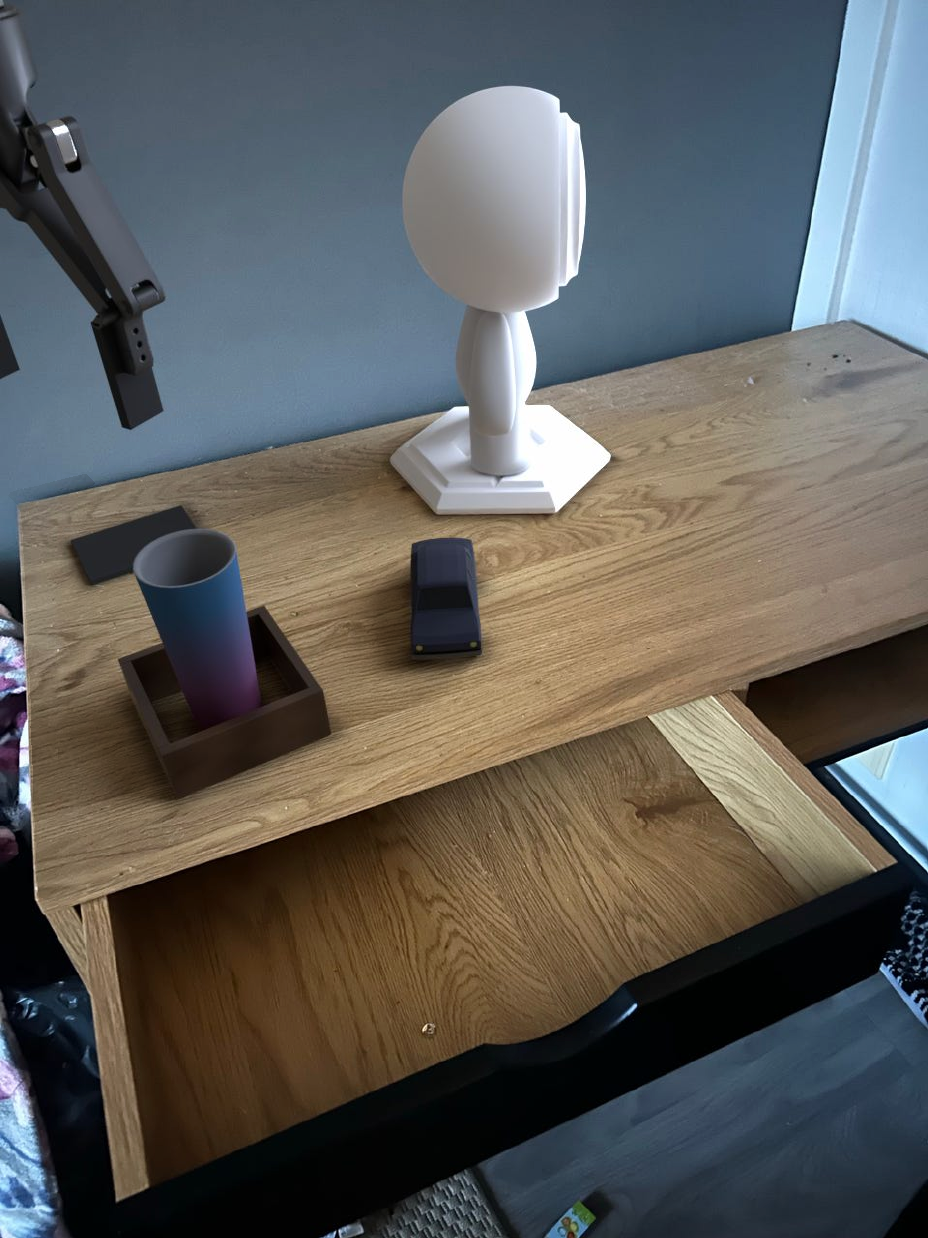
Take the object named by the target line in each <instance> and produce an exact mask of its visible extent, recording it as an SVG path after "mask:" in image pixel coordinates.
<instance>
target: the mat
mask: <svg viewBox="0 0 928 1238" xmlns="http://www.w3.org/2000/svg"><path fill="white" fill-rule="evenodd" d="M188 529H198V528H197V526H196V525H195V523H194V522H193V521H192V519H191V517H190V516H189V514H188V513H187V512H186V510H185V509H184V506H183V505H181V504H179V505H176V506H173V507H169V508H167V509H164V510H161V511H158V512H155V513H152V514H148V515H146V516H142V517H139V518H136V519H132V520H129V521H126V522H123V523H119V524H117V525H114V526H111V527H107V528H103V529H101V530H98V531H94V532H91V533H88V534H85V535H82V536H79V537H75V538H73V539H70V542H71V545H72V547H73V549H74V551H75V554H76V555H77V558H78V560H79V562H80V564H81V566H82V569H83V571H84V573H85V575H86V577H87V579H88V581H89V583H90V585H91V586H94V585H97V584H100V583H103V582H106V581H108V580H111V579H114V578H117V577H118V578H119V577H120V576H124V575H127V574H129V573H132V572H133V563H134V560H135V558H136V556H137V555H138V553H139V552H140V551H141V550H142V549H143V548H144V547H145V546H147V545H148V544H149V543H151V542H152V541H154V540H156V539H158V538H160V537H162V536H165V535H167V534H170V533H174V532H177V531H182V530H188ZM133 573H134V572H133Z"/></svg>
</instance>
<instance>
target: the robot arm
mask: <svg viewBox="0 0 928 1238" xmlns="http://www.w3.org/2000/svg"><path fill="white" fill-rule="evenodd" d="M38 79H39V71H38V68H37V65H36V61H35V57H34V54H33V51H32V47H31V43H30V40H29V37H28V34H27V30H26V27H25V23H24V20H23V16H22V12H21V11H20V10H18V9H16V6H15V5H14V4H12V3H9V2H4V0H0V209H3V210H4V209H5V210H6V211H7V212H8V214H9V215H10V216H11V217H12V218H13V219H14V220H16V221H17V222H22V223H25V224H27V225H28V227H29V228H30V230H32V232H33V233H34V235H36V237H37V238H38V240H39V241H40V242H41V244H42V245H43V246H44V247H45V249H46V250H47V252H48V253H50V254H49V255H51V257H53V259H54V260H55V262H56V263H57V264H58V265H59V266H60V268H61V269H62V270H63V272H64V273H65V274H66V275H67V277H68V278H69V280H71V282H72V283H73V284H74V286H75V287H76V288H77V290H78V291H79V292H80V294H81V295H82V296H83V297H84V299H85V300H86V301H87V302H88V304H89V305H90V306H91V308H93V310H94V311H95V313H96V314H95V316H94V318H93V319H92V320H91V321H90V326H91V329H92V333H93V337H94V340H95V343H96V346H97V350H98V353H99V356H100V360H101V363H102V366H103V369H104V372H105V376H106V379H107V383H108V386H109V389H110V392H111V396H112V399H113V403H114V406H115V409H116V412H117V413H116V414H117V416H118V418H119V423H120V425H121V428H122V429H126V430H129V431H132V430H133V429H135V428H137V427H139V426H141V425H142V424H144V423H145V422H148V421H150V420H151V419H152V418H155V417H157V416H158V415H160V414H161V413H163V412H164V411H165V410H164V407H163V403H162V400H161V396H160V392H159V388H158V385H157V381H156V377H155V374H154V370H153V367H154V363H155V362H154V361H155V358H154V356H153V355H154V354H153V351H152V349H151V348H152V347H151V344H150V340H149V336H148V332H147V328H146V325H145V322H144V312H145V311H147V310H149V309H151V308H154V307H156V306H158V305H160V304H162V303H164V302H165V301H166V297H167V296H166V295H167V294H166V291H165V289H164V287H163V285H162V283H161V282H160V280H159V278H158V277H157V274H156V273H155V271H154V269H153V267H152V265H151V264H150V262H149V260H148V259H147V257H146V254H145V253H144V252H143V250H142V248H141V246H140V244H139V243H138V241H137V238H136V237H135V236H134V234H133V231H132V230H131V228H130V226H129V224H128V223H127V221H126V219H125V218H124V216H123V214H122V212H121V210H120V209H119V206H118V205H117V204H116V202H115V200H114V198H113V197H112V195H111V193H110V192H109V189H108V188H107V185H106V184H105V182H104V181H103V179H102V176H101V175H100V174H99V172H98V170H97V168H96V166H95V164H94V162H93V159H92V157H91V154H90V151H89V147H88V145H87V143H86V140H85V135H84V134H83V130H82V128H81V125H80V123H79V122H78V120H77V119H76V118H74V117H73V116H71V115H67V116H64V117H60V118H57V119H54V120H49V121H45V122H42V123H39V121H38V120H37V119H36V117H35V115H34V113H33V111H32V109H31V106H30V104H29V102H28V94H29V91H30V89H31V88H33V87H34V86H35V85H36V84H37V82H38ZM40 184H41V185H42V187H43V188H40V189H39V187H40ZM137 285H138V286H137ZM107 292H108V293H107ZM108 294H109V295H110V296H109V295H108ZM18 371H21V368H20V366H19V363H18V359H17V357H16V354H15V352H14V349H13V346H12V343H11V341H10V338H9V335H8V333H7V330H6V327H5V324H4V321H3V318H2V315H1V314H0V380H2V379H3V378H6V377H7V376H10V375H12V374H15V373H17V372H18Z"/></svg>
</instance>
